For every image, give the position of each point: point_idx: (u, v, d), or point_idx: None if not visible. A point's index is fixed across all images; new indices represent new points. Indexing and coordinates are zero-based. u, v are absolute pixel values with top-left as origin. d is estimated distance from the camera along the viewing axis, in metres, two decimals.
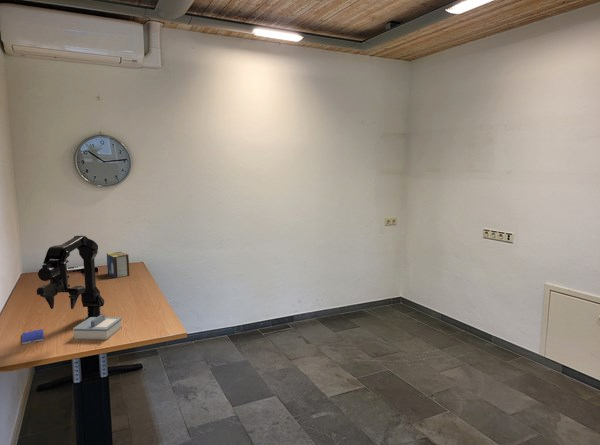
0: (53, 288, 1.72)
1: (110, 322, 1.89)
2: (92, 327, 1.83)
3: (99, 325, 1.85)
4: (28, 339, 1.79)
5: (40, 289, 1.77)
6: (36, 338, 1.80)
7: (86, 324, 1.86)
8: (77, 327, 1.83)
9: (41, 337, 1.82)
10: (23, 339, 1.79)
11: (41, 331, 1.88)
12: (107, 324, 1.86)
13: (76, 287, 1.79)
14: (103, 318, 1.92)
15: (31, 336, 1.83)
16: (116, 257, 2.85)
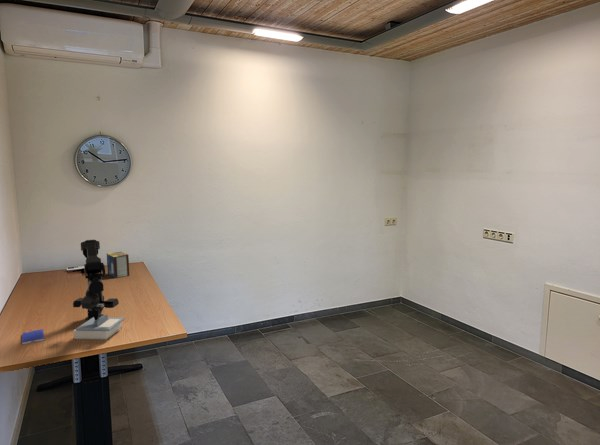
0: (90, 301, 1.79)
1: (113, 322, 1.89)
2: (95, 327, 1.83)
3: (102, 325, 1.85)
4: (28, 339, 1.79)
5: (76, 302, 1.85)
6: (36, 338, 1.81)
7: (89, 324, 1.86)
8: (80, 327, 1.83)
9: (41, 337, 1.82)
10: (23, 339, 1.79)
11: (41, 331, 1.88)
12: (110, 324, 1.86)
13: (111, 300, 1.86)
14: (106, 318, 1.91)
15: (31, 336, 1.83)
16: (116, 257, 2.85)
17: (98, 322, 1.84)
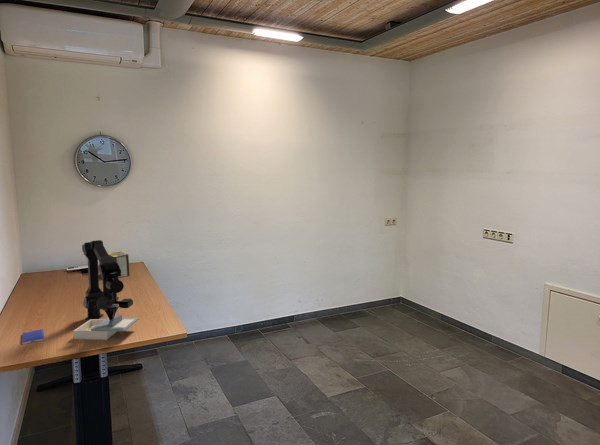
0: (105, 301, 1.79)
1: (128, 322, 1.88)
2: (110, 327, 1.82)
3: (117, 325, 1.85)
4: (28, 339, 1.79)
5: (91, 302, 1.84)
6: (36, 338, 1.81)
7: (104, 324, 1.86)
8: (95, 327, 1.82)
9: (41, 337, 1.82)
10: (23, 339, 1.80)
11: (41, 331, 1.88)
12: (125, 324, 1.86)
13: (125, 300, 1.86)
14: (120, 318, 1.91)
15: (31, 336, 1.83)
16: (116, 257, 2.85)
17: (113, 322, 1.84)
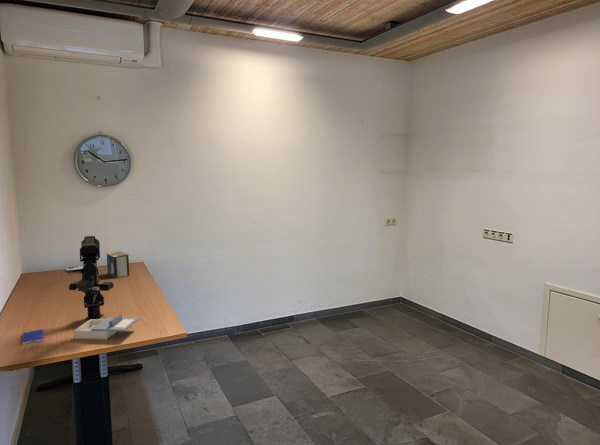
0: (85, 283, 1.84)
1: (128, 322, 1.88)
2: (110, 327, 1.82)
3: (117, 325, 1.85)
4: (28, 339, 1.79)
5: (72, 285, 1.89)
6: (36, 338, 1.81)
7: (104, 324, 1.86)
8: (95, 327, 1.82)
9: (41, 337, 1.82)
10: (23, 339, 1.80)
11: (41, 331, 1.88)
12: (125, 324, 1.86)
13: (106, 283, 1.91)
14: (120, 318, 1.91)
15: (31, 336, 1.83)
16: (116, 257, 2.85)
17: (113, 322, 1.84)
